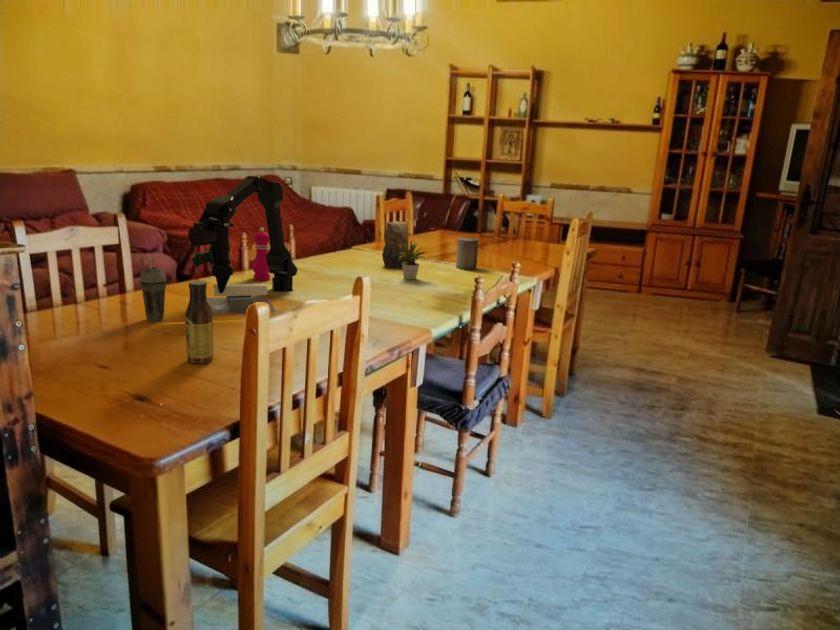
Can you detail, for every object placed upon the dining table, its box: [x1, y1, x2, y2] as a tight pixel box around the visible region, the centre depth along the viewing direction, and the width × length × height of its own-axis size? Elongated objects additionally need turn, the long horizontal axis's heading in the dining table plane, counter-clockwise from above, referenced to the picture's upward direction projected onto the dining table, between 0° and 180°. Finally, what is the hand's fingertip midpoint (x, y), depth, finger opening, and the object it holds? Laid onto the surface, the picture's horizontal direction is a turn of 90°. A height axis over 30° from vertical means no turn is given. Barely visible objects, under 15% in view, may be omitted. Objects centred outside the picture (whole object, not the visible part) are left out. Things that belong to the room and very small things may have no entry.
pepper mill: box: [251, 227, 271, 282], centre depth 241 cm, size 7×7×20 cm
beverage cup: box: [139, 252, 168, 323], centre depth 181 cm, size 7×7×20 cm
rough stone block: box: [381, 220, 410, 270], centre depth 285 cm, size 13×13×20 cm
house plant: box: [395, 239, 430, 280], centre depth 259 cm, size 14×14×16 cm
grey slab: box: [206, 295, 276, 315], centre depth 203 cm, size 20×20×4 cm
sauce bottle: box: [184, 279, 214, 365], centre depth 151 cm, size 7×6×20 cm
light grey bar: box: [213, 283, 268, 297], centre depth 199 cm, size 16×3×3 cm, turn 111°
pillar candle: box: [455, 236, 480, 271], centre depth 291 cm, size 10×10×15 cm
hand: (220, 291), depth 197 cm, fingers closed on light grey bar, 3 cm apart
